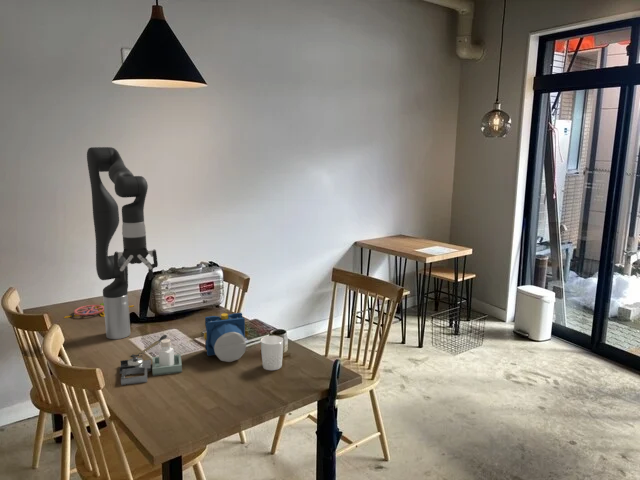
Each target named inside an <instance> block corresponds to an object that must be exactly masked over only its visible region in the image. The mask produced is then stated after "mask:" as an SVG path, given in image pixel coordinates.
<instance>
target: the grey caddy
mask: <svg viewBox="0 0 640 480" xmlns="http://www.w3.org/2000/svg"><path fill="white" fill-rule="evenodd" d="M138 357H139V356H135V357H131V358H129V359H124V360H120V365H119V369H118V370H119V375H120V374H122V375H121V377H120V384H121V386H127V385H134V384H141V383H142V384H143V383H147V382H148V374H149V372H151V371H152V359H146V360H144V359H143V358H142V357H140V358H138ZM148 371H149V372H148ZM130 374H132V375H136V376H131V377H129V376H130ZM138 374H144V375H139V376H137V375H138ZM126 376H128V377H126ZM126 384H127V385H126Z"/></svg>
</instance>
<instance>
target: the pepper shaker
mask: <svg viewBox="0 0 640 480" xmlns="http://www.w3.org/2000/svg"><path fill="white" fill-rule="evenodd" d="M171 345H172V343H171V339H170V338H169V339H168V338H164V340H161V342H160V347H161V348H160V350H158V357H159V365H160V367H162V366H171V365H174V355H175V352H174V348H173V347H171Z"/></svg>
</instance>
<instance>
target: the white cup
mask: <svg viewBox="0 0 640 480" xmlns="http://www.w3.org/2000/svg"><path fill="white" fill-rule="evenodd" d="M260 350H261V351H260V352H261V362H262V368H263V369H264V370H266V371H277V370H279V369H281V368H282V367H283V355H284V338H283V337H282V336H279V335H266V336H263V337H261V339H260Z"/></svg>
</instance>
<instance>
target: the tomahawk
mask: <svg viewBox="0 0 640 480" xmlns="http://www.w3.org/2000/svg"><path fill="white" fill-rule="evenodd" d="M167 337H168V335H167V334H163V335H161V336H160V338H159V339H158V340H156V341H154V342H153V343H151V344H150V345H148V346H147V347H146V348H145V349H143V350H141V351H140V352H139V353H138V354H131V355H130V357H131V358H133V357H140V356H139V354H142V353H143V354H145V353H146V352H148V351H149V350H151V349H152V348H154V347H155V346H157V345H159V344H161V340H164V339H167ZM150 348H151V349H150ZM147 350H148V351H147ZM145 351H146V352H145ZM144 352H145V353H144Z"/></svg>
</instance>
